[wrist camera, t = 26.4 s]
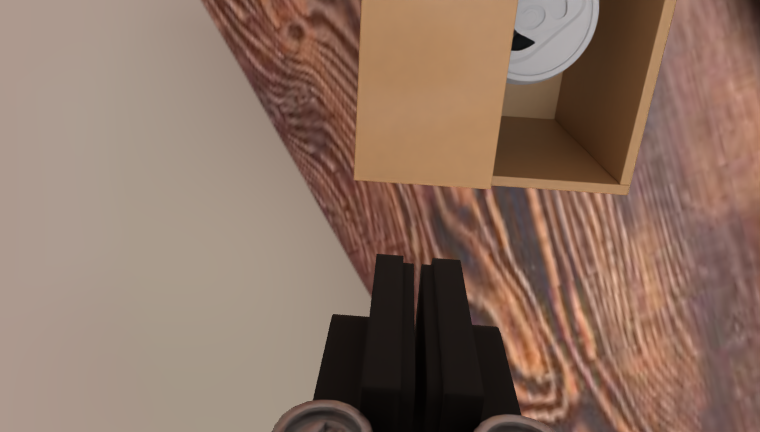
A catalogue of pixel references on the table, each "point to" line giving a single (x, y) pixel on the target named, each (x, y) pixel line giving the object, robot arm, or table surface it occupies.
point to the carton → (586, 107)
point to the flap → (431, 90)
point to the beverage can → (549, 37)
